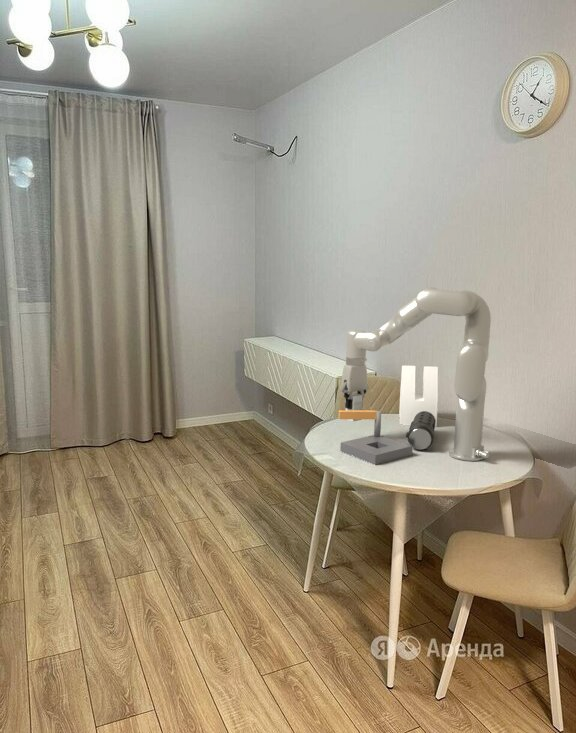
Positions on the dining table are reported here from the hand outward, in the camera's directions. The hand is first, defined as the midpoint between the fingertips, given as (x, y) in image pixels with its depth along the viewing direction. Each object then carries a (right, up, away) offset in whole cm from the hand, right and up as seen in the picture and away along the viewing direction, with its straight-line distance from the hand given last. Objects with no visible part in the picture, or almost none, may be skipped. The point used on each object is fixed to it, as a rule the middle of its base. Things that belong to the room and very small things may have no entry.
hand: (353, 407), depth 225 cm
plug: (0, -5, +1) cm, 5 cm away
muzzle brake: (+22, -10, +3) cm, 24 cm away
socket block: (+7, -16, -14) cm, 22 cm away
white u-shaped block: (+32, -9, +33) cm, 47 cm away
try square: (+2, -11, -5) cm, 12 cm away
